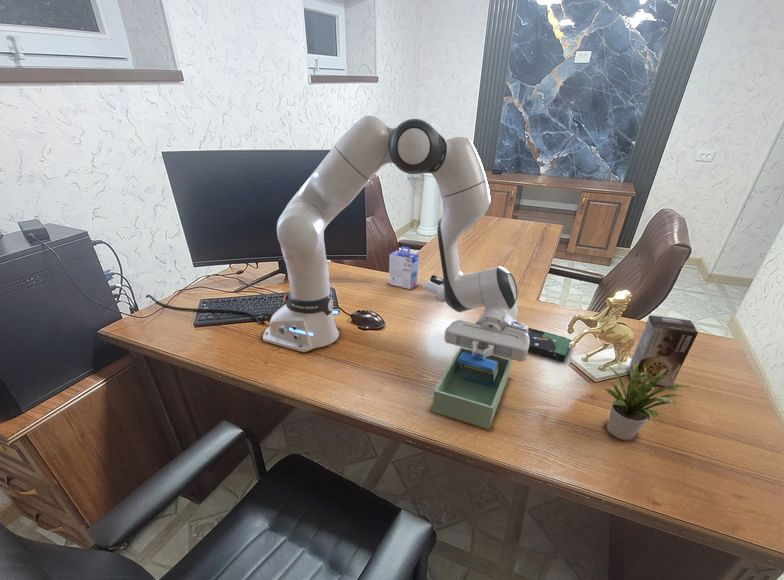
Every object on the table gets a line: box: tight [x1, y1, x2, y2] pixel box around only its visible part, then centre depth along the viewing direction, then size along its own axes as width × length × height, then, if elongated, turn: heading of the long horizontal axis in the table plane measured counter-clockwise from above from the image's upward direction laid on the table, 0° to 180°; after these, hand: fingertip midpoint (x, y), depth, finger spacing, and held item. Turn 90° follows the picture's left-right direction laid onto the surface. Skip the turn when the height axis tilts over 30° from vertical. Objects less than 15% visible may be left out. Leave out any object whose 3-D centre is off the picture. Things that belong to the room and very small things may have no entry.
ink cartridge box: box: [388, 245, 419, 290], centre depth 146 cm, size 10×6×14 cm, turn 59°
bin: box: [431, 346, 513, 430], centre depth 93 cm, size 20×13×6 cm, turn 154°
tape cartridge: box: [456, 352, 498, 387], centre depth 93 cm, size 9×4×12 cm
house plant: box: [603, 362, 689, 441], centre depth 79 cm, size 14×14×16 cm
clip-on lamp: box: [422, 274, 446, 301], centre depth 140 cm, size 12×6×18 cm
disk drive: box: [527, 327, 572, 364], centre depth 112 cm, size 10×3×15 cm
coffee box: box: [627, 314, 699, 387], centre depth 97 cm, size 9×6×16 cm
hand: (478, 355), depth 90 cm, fingers closed, pressing on tape cartridge
